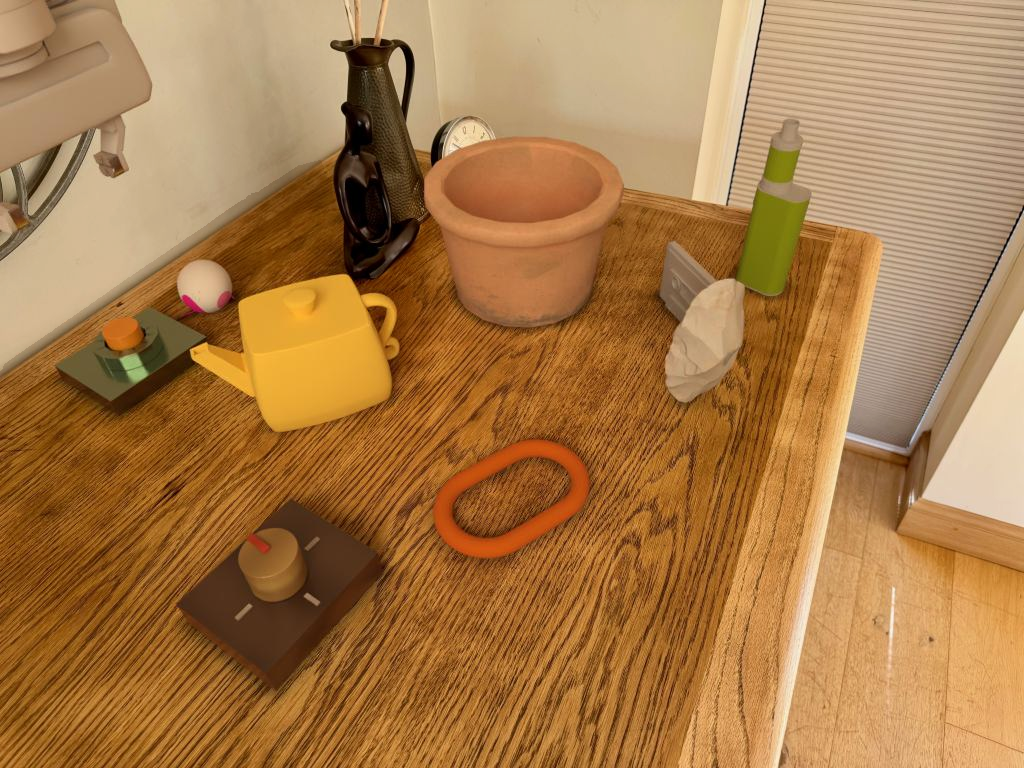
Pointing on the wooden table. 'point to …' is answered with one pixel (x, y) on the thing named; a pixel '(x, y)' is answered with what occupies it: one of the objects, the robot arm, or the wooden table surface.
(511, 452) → the orange oval ring
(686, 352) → the stone
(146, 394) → the lamp switch
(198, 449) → the wooden table surface
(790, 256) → the vape
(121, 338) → the button
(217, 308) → the stress ball
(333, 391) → the teapot
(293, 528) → the dimmer panel
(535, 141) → the pottery
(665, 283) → the cassette
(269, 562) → the dimmer knob
